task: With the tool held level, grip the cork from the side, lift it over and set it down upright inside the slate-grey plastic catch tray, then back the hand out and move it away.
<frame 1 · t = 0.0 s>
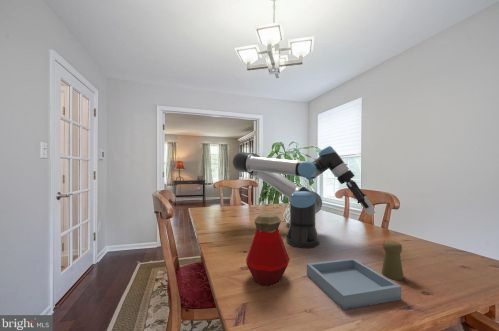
hand: (372, 211, 98), 15 cm above the table, tool tilted 35°, fingers open, 13 cm apart
bottle: (267, 278, 67), on the table
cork: (392, 275, 70), on the table
catch tray: (349, 285, 63), on the table
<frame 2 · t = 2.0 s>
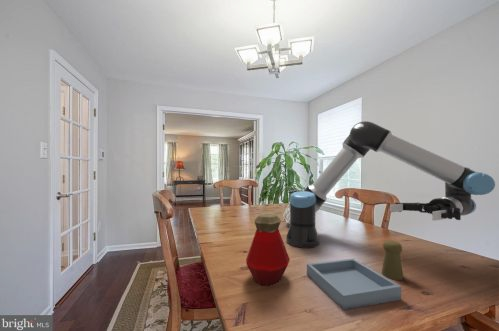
hand: (410, 212, 74), 20 cm above the table, tool horizontal, fingers open, 13 cm apart
nothing on the table moved.
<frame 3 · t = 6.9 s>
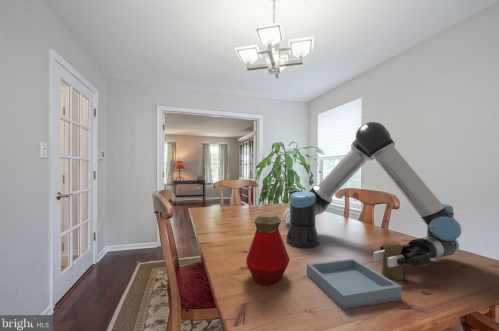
hand: (381, 259, 68), 6 cm above the table, tool horizontal, fingers closed on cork, 4 cm apart
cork: (392, 275, 70), on the table, touching gripper
everything else where it was.
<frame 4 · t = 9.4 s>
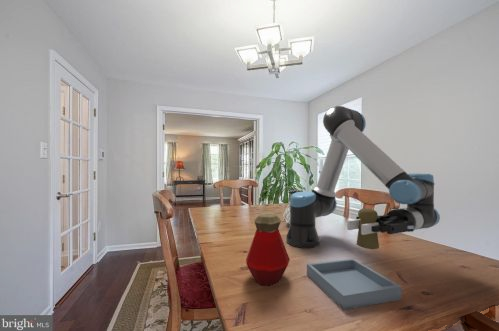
hand: (355, 227, 62), 18 cm above the table, tool horizontal, fingers closed on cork, 4 cm apart
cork: (367, 246, 64), point 12 cm above the table, touching gripper
everything else where it was.
when the fingers open (8 cm above the table, at t = 12.0 s): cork drops 2 cm, resting on catch tray.
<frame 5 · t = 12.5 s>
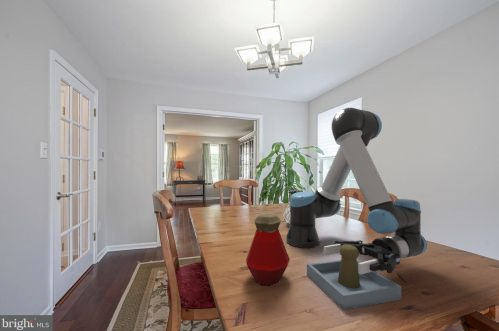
hand: (340, 259, 62), 8 cm above the table, tool horizontal, fingers open, 12 cm apart
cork: (348, 283, 63), point 1 cm above the table, touching catch tray
everything else where it was.
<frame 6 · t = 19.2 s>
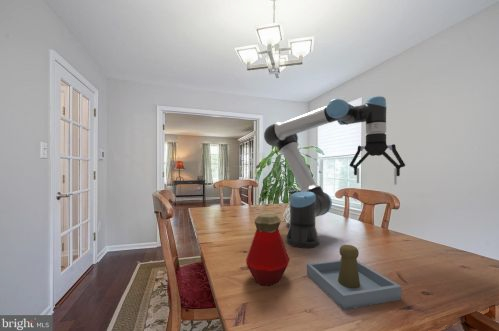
hand: (375, 183, 90), 29 cm above the table, tool pointing down, fingers open, 13 cm apart
nothing on the table moved.
at the end: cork inside the target area on the catch tray (0.1 cm from its centre), point 0.6 cm above the catch tray's base; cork tilted 0°; the gripper is holding nothing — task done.
